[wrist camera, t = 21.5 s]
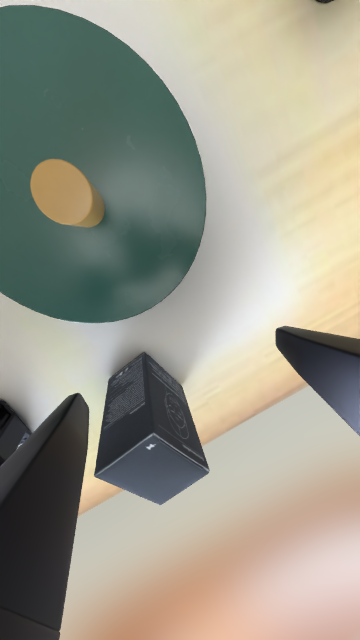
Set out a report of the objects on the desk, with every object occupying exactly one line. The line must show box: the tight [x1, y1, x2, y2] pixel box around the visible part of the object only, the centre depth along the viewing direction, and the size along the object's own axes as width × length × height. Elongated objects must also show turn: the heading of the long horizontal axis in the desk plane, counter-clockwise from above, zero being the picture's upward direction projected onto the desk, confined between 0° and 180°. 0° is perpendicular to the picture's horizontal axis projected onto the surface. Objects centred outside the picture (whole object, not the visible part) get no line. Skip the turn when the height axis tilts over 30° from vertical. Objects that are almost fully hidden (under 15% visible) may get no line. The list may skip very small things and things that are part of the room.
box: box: [94, 352, 210, 505], centre depth 20 cm, size 8×6×11 cm
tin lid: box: [0, 5, 206, 323], centre depth 12 cm, size 17×17×6 cm
